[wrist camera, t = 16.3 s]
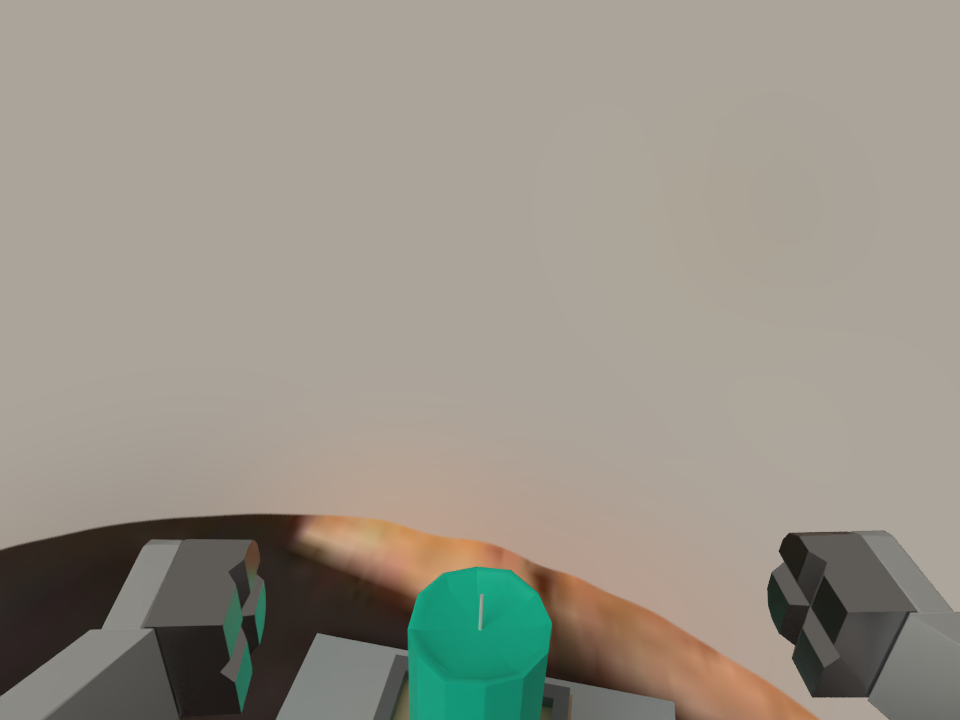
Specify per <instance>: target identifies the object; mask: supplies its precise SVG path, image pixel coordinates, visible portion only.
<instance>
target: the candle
mask: <svg viewBox="0 0 960 720" xmlns="http://www.w3.org/2000/svg"><path fill="white" fill-rule="evenodd" d="M551 629H552V622H551V620H550V618H549V616H548V613H547V611H546V609H545V607H544V605H543V603H542V600H541V598H540V596H539V594H538V593H537V592H536V591H535V590H534V589H533V588H531V587H530V586H529V585H528V584H527V583H526V582H524V581H523V580H522V579H521V578H520V577H518V576H517V575H516V574H515V573H514V572H512V571H511V570H504V569H494V568H484V567H473V568H467V569H462V570H457V571H452V572H447V573H443V574H442V575H441V576H439V577H438V578H437V579H436V580H435V581H433V582H432V583H431V584H430V585H429V586H428V587H426V588H425V589H424V590H423V591H422V592H420V593H419V594H418V596H417V599H416V603H415V606H414V610H413V613H412V616H411V620H410V623H409V626H408V668H409V715H410V720H540V715H541V708H542V700H543V692H544V684H545V676H546V668H547V660H548V653H549V645H550V637H551Z"/></svg>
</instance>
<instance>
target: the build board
mask: <svg viewBox="0 0 960 720" xmlns="http://www.w3.org/2000/svg"><path fill="white" fill-rule="evenodd" d="M276 720H410V715H409V668H408V651H407V650H402V649H396V648H391V647H386V646H381V645H376V644H370V643H365V642H360V641H355V640H349V639H344V638H339V637H334V636H329V635H323V634H318V633H317V635H316V637H315V639H314V641H313V643H312V645H311V647H310V649H309V651H308V653H307V656H306V658H305V660H304V662H303V664H302V666H301V668H300V670H299V672H298V674H297V676H296V679H295V681H294V683H293V685H292V687H291V689H290V691H289V693H288V695H287V697H286V700H285V702H284V704H283V706H282V708H281V710H280V712H279V714H278V716H277V718H276ZM540 720H675V705H674V702H673V701H668V700H663V699H657V698H652V697H647V696H642V695H637V694H631V693H626V692H621V691H616V690H610V689H605V688H600V687H595V686H590V685H584V684H579V683H574V682H569V681H563V680H558V679H553V678H548V677H545V684H544V692H543V700H542V708H541V715H540Z"/></svg>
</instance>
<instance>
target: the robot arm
mask: <svg viewBox="0 0 960 720" xmlns="http://www.w3.org/2000/svg"><path fill="white" fill-rule="evenodd" d="M779 553H780V554H781V556H782V558H783V560H784V563H782V564H781V565H780V566H779V567H778V568H776V569H775V570H774V571H773V572H772V573H771V577H770V580H769V584H768V588H767V590H768V606H769V610H770V613H771V617H772V620H773V622H774V624H775V626H776V628H777V630H778V632H779V634H781V635H782V636H783V637H785V638H786V639H787V640H789V641H790V642H791V643H792V644H794V645H795V649H794V653H793V656H792V659H793V661H794V663H795V665H796V667H797V669H798V671H799V673H800V675H801V677H802V678H803V681H804V683H805V685H806V686H807V688H808V690H809V692H810V694H811V696H812V697H869V699H868V701H869V702H870V703H871V704H872V705H873V706H875V707H876V708H877V709H878V710H879V711H880V712H881V713H883V714H884V715H885V716H886V717H887V718H888V719H889V720H960V612H954V611H953V610H952V608H951V607H950V606H949V605H948V604H947V602H946V601H945V600H944V599H943V597H942V596H941V595H940V594H939V592H938V591H937V590H936V589H935V587H934V586H933V585H932V584H931V582H930V581H929V580H928V579H927V577H926V576H925V575H924V574H923V572H922V571H921V570H920V569H919V567H918V566H917V565H916V564H915V563H914V561H913V560H912V559H911V558H910V556H909V555H908V554H907V553H906V551H905V550H904V549H903V548H902V546H901V545H900V544H899V543H898V542H897V540H896V539H895V538H894V537H893V536H892V535H891V534H889V533H887V532H886V531H852V532H807V533H789V534H788V535H787V536H786V537H785V538H784V539H783V541H782V544H781V546H780V549H779ZM259 561H260V555H259V550H258V545H257V542H255V541H254V540H208V539H186V540H152V539H151V540H150V541H149V542H148V543H147V544H146V545H145V546H144V547H143V548H142V550H141V552H140V554H139V556H138V558H137V560H136V562H135V564H134V566H133V568H132V570H131V572H130V574H129V576H128V578H127V580H126V582H125V584H124V585H123V587H122V589H121V591H120V593H119V595H118V597H117V599H116V601H115V603H114V605H113V607H112V609H111V611H110V613H109V615H108V617H107V619H106V621H105V623H104V625H103V627H102V629H100V630H90V631H88V632H87V633H85V634H84V635H83V636H81V637H80V638H79V639H77V640H76V641H75V642H73V643H72V644H71V645H69V646H68V647H67V648H65V649H64V650H63V651H61V652H60V653H59V654H57V655H56V656H55V657H53V658H52V659H51V660H49V661H48V662H46V663H45V664H44V665H42V666H41V667H40V668H38V669H37V670H36V671H34V672H33V673H32V674H30V675H29V676H28V677H26V678H25V679H24V680H22V681H21V682H20V683H18V684H17V685H16V686H14V687H13V688H12V689H10V690H9V691H7V692H6V693H5V694H3V695H2V696H1V697H0V720H179V717H190V716H208V715H225V714H241V713H242V710H243V706H244V702H245V698H246V695H247V691H248V687H249V683H250V680H251V676H252V672H253V671H252V666H251V660H250V653H251V652H253V651H254V650H255V649H256V648H257V647H258V646H259V645H260V641H261V637H262V632H263V628H264V620H265V611H266V592H265V586H264V580H263V579H261V578H260V577H259V576H258V575H257V574H256V572H257V568H258V565H259Z"/></svg>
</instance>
